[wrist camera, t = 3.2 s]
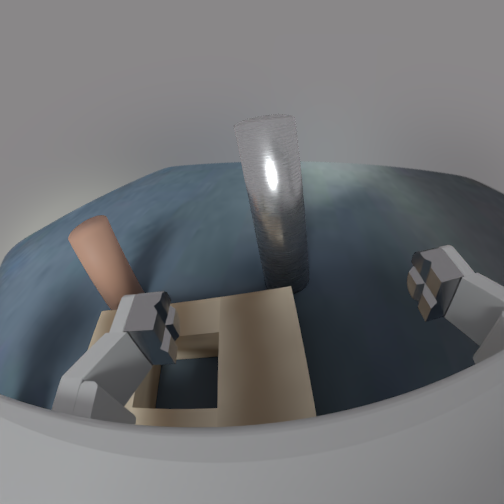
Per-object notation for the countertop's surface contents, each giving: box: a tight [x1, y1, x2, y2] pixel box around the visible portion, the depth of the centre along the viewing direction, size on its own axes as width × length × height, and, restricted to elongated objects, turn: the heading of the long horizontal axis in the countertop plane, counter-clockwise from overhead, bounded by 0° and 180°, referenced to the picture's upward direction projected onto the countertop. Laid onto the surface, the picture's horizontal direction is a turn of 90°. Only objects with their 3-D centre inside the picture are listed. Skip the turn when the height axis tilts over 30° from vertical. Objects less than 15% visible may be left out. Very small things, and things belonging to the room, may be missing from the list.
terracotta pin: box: [68, 215, 144, 310], centre depth 24 cm, size 4×4×9 cm
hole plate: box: [88, 286, 316, 427], centre depth 17 cm, size 16×12×3 cm
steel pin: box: [234, 115, 309, 294], centre depth 21 cm, size 4×4×14 cm
